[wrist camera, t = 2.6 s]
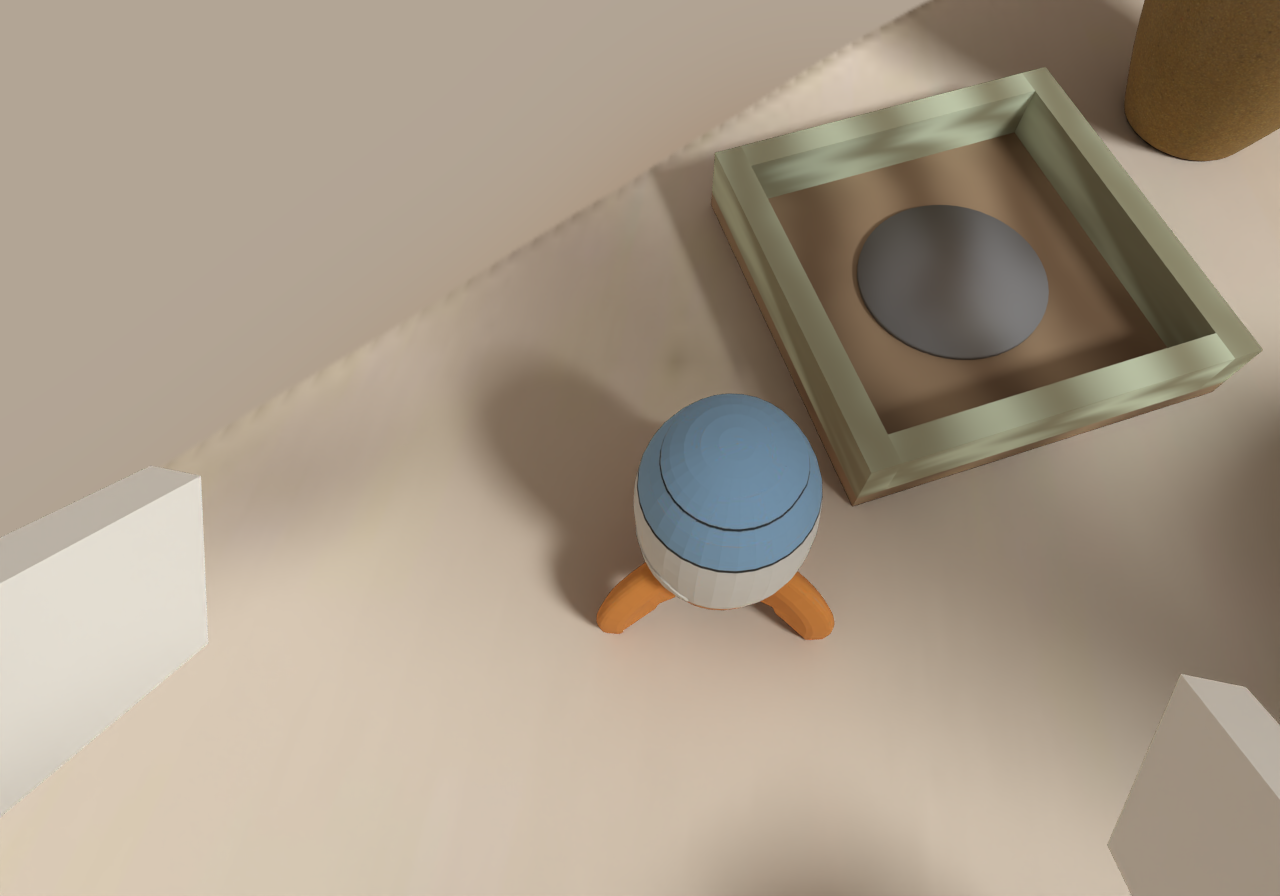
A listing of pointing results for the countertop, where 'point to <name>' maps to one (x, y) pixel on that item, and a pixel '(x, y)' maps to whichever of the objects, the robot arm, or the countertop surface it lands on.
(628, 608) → the toy rocket
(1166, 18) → the plant pot
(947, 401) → the cradle
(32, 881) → the countertop surface
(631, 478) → the countertop surface
